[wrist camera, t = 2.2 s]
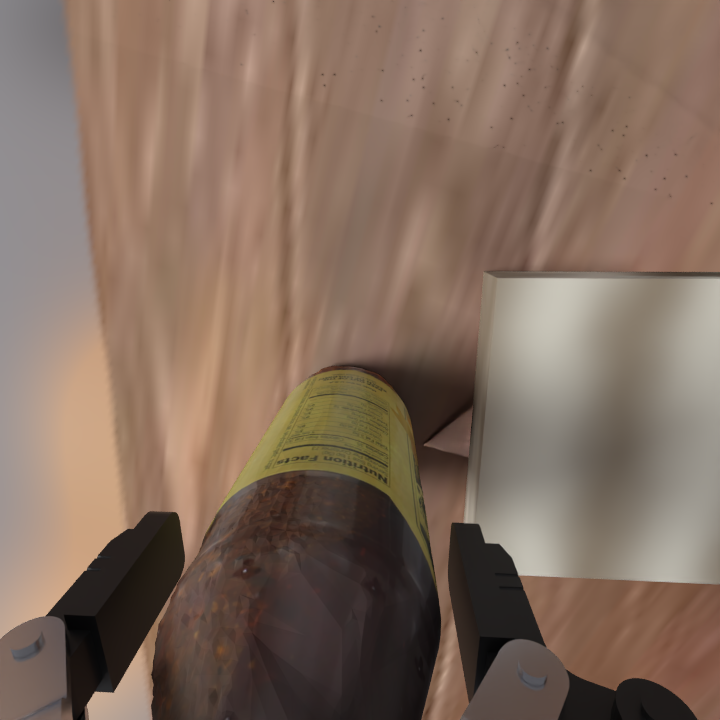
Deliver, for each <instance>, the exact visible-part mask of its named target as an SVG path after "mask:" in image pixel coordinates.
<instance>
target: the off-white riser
mask: <svg viewBox="0 0 720 720" xmlns="http://www.w3.org/2000/svg"><path fill="white" fill-rule="evenodd" d="M464 523H475V524H479V525H480V528H481V531H482V534H483V537H484V541H485V543H494V544H500V545H501V546H502V547H503V548H504V550H505V551H506V552H507V553H508V554H509V555H510V556H511V557H512V559H513V562H514V564H515V567H516V570H517V572H518V575H527V576H549V577H570V578H592V579H614V580H636V581H657V582H679V583H701V584H720V272H511V271H484V275H483V287H482V300H481V312H480V324H479V337H478V349H477V362H476V374H475V386H474V399H473V411H472V424H471V436H470V448H469V461H468V473H467V486H466V498H465V510H464Z"/></svg>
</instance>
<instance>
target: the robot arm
mask: <svg viewBox="0 0 720 720" xmlns="http://www.w3.org/2000/svg"><path fill="white" fill-rule="evenodd" d="M184 562H185V553H184V546H183V540H182V533H181V527H180V520H179V516H178V514H177V513H176V512H155V511H150V512H148V513H147V514H146V515H145V516H144V517H143V518H142V520H141V521H140V522H139V523H138V524H137V526H136V527H135V528H134V529H127V530H126V531H124V532H123V533H121V534H120V535H119V536H117V537H116V538H114V539H113V540H111V541H110V542H109V543H108V544H107V546H106V547H105V548H104V549H103V550H102V552H100V554H99V555H98V557H97V559H94V561H93V562H92V563H91V564H90V565H89V567H88V568H87V571H84V572H83V573H82V575H81V576H80V577H79V578H78V579H77V580H76V582H75V583H74V584H73V585H72V586H71V587H70V588H69V590H68V591H67V592H66V593H65V594H64V595H63V597H62V598H61V599H60V600H59V601H58V602H57V603H56V605H55V606H54V607H53V608H52V609H51V611H50V612H49V613H48V614H47V615H46V616H45V617H39V618H35V619H32V620H29V621H27V622H25V623H23V624H21V625H19V626H17V627H15V628H14V629H12V630H11V631H9V632H8V633H7V634H6V635H4V636H3V637H2V638H1V639H0V720H89V716H88V709H87V703H88V702H89V700H90V698H91V697H92V695H93V694H94V692H96V691H97V692H112V693H113V692H114V691H115V689H116V688H117V686H118V684H119V682H120V681H121V679H122V677H123V676H124V674H125V672H126V670H127V668H128V667H129V665H130V663H131V661H132V660H133V658H134V656H135V655H136V653H137V651H138V650H139V648H140V646H141V644H142V643H143V641H144V639H145V637H146V636H147V634H148V632H149V631H150V629H151V627H152V625H153V624H154V622H155V620H156V618H157V617H158V615H159V613H160V612H161V610H162V608H163V606H164V605H165V603H166V601H167V599H168V598H169V596H170V594H171V592H172V591H173V589H174V587H175V586H176V584H177V582H178V580H179V579H180V577H181V574H182V571H183V568H184ZM448 582H449V591H450V597H451V602H452V608H453V614H454V619H455V625H456V631H457V637H458V642H459V648H460V654H461V659H462V665H463V671H464V677H465V682H466V688H467V694H468V699H469V705H468V707H467V708H466V710H465V712H464V714H463V715H462V717H461V719H460V720H697V718H696V717H695V715H694V714H693V712H692V711H691V710H690V709H689V707H688V706H687V705H686V704H685V703H684V702H683V701H682V700H681V699H680V698H678V697H677V696H676V695H675V694H674V693H672V692H671V691H669V690H668V689H666V688H664V687H663V686H661V685H659V684H657V683H654V682H652V681H649V680H645V679H640V678H632V679H627V680H625V681H623V682H622V683H620V684H619V686H618V687H617V690H616V691H614V690H611V689H609V688H606V687H603V686H600V685H597V684H595V683H592V682H589V681H586V680H584V679H581V678H579V677H577V676H575V675H574V674H572V673H570V672H569V671H568V670H566V669H565V667H564V665H563V664H562V662H561V661H560V660H559V658H558V657H557V656H556V655H555V654H554V653H553V652H551V651H550V650H549V649H547V648H546V645H545V643H544V641H543V638H542V636H541V633H540V630H539V628H538V625H537V622H536V620H535V617H534V614H533V612H532V609H531V607H530V604H529V601H528V599H527V596H526V593H525V591H524V590H523V585H522V583H521V580H520V578H519V577H518V572H517V570H516V567H515V564H514V562H513V559H512V557H511V556H510V555H509V554H508V553H507V552H506V551H505V550H504V548H503V547H502V546H501V545H500V544H494V543H485V541H484V537H483V534H482V531H481V528H480V525H479V524H475V523H452V525H451V535H450V548H449V562H448Z"/></svg>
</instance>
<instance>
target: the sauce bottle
mask: <svg viewBox="0 0 720 720" xmlns="http://www.w3.org/2000/svg"><path fill="white" fill-rule="evenodd" d="M440 635H441V614H440V606H439V599H438V591H437V585H436V578H435V572H434V565H433V559H432V554H431V547H430V540H429V532H428V525H427V517H426V511H425V505H424V499H423V491H422V487H421V482H420V475H419V469H418V462H417V455H416V448H415V442H414V436H413V430H412V424H411V420H410V417H409V414H408V411H407V409H406V407H405V405H404V403H403V402H402V400H401V399H400V397H399V396H398V394H397V393H396V392H395V391H394V389H393V388H392V387H391V386H390V384H389V383H388V382H387V381H386V380H385V379H384V378H383V377H381V376H380V375H379V374H377V373H374V372H371V371H368V370H364V369H362V368H357V367H349V366H343V367H341V366H340V367H337V366H331V367H326V368H323V369H321V370H320V371H319V372H317V373H315V374H313V375H311V376H310V377H309V378H308V379H306V380H305V381H304V382H303V383H301V384H300V385H299V386H297V387H296V388H295V389H294V390H293V391H292V392H291V394H290V395H289V396H288V397H287V398H286V400H285V402H284V404H283V405H282V407H281V409H280V410H279V412H278V414H277V415H276V417H275V418H274V420H273V422H272V423H271V425H270V426H269V428H268V430H267V431H266V433H265V434H264V436H263V438H262V439H261V441H260V443H259V444H258V446H257V447H256V449H255V451H254V452H253V454H252V456H251V457H250V459H249V461H248V462H247V464H246V465H245V467H244V469H243V470H242V472H241V474H240V475H239V477H238V478H237V480H236V482H235V483H234V485H233V487H232V488H231V490H230V492H229V493H228V495H227V496H226V498H225V500H224V501H223V503H222V505H221V506H220V508H219V510H218V511H217V514H216V516H215V518H214V520H213V521H212V523H211V525H210V526H209V528H208V530H207V532H206V534H205V537H204V539H203V543H202V546H201V548H200V551H199V553H198V555H197V557H196V558H195V560H194V561H193V562H192V564H191V565H190V566H189V568H188V569H187V571H186V573H185V574H184V575H183V576H182V578H181V579H180V580H179V582H178V584H177V588H176V590H175V592H174V594H173V595H172V597H171V600H170V604H169V606H168V608H167V611H166V613H165V615H164V617H163V618H162V620H161V621H160V623H159V626H158V633H157V638H156V642H155V655H154V660H153V671H152V674H151V675H152V679H153V684H154V686H153V696H154V698H153V700H152V704H151V709H152V717H153V720H421V718H422V714H423V710H424V706H425V702H426V698H427V694H428V690H429V686H430V682H431V678H432V674H433V670H434V665H435V661H436V657H437V653H438V649H439V643H440Z"/></svg>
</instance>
